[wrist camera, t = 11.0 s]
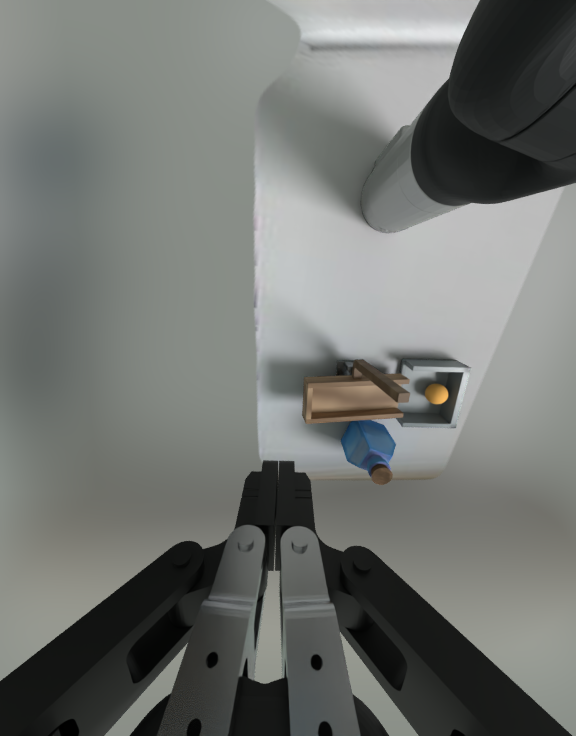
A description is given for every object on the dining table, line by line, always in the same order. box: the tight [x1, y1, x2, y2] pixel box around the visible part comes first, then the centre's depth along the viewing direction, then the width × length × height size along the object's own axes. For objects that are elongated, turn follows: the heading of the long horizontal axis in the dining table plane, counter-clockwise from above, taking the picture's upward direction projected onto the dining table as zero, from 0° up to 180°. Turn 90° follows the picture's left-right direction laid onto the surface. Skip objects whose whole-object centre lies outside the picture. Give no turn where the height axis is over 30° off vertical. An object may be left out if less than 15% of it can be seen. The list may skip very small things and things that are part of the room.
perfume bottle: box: [341, 420, 396, 485], centre depth 47 cm, size 6×6×12 cm
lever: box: [302, 360, 410, 424], centre depth 39 cm, size 10×17×14 cm, turn 89°
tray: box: [396, 359, 471, 428], centre depth 48 cm, size 11×10×4 cm
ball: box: [425, 384, 448, 404], centre depth 48 cm, size 4×4×4 cm
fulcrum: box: [336, 361, 363, 376], centre depth 48 cm, size 10×5×3 cm, turn 179°
